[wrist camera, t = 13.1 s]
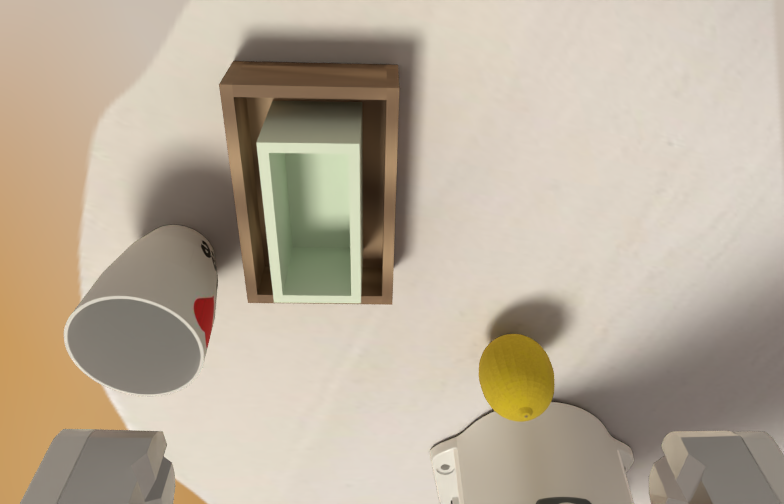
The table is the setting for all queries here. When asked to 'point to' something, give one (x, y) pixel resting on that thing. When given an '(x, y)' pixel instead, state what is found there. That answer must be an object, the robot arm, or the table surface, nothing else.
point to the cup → (148, 315)
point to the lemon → (516, 377)
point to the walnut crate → (380, 140)
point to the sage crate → (313, 200)
